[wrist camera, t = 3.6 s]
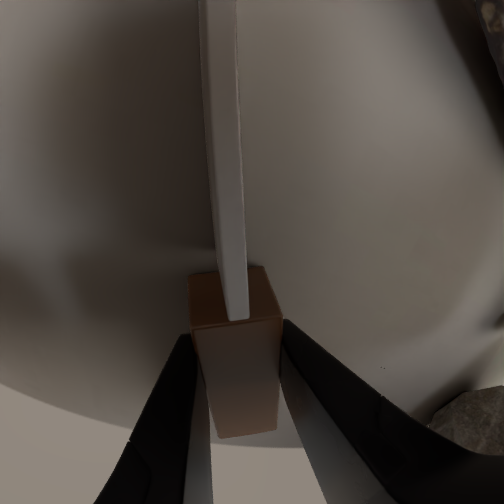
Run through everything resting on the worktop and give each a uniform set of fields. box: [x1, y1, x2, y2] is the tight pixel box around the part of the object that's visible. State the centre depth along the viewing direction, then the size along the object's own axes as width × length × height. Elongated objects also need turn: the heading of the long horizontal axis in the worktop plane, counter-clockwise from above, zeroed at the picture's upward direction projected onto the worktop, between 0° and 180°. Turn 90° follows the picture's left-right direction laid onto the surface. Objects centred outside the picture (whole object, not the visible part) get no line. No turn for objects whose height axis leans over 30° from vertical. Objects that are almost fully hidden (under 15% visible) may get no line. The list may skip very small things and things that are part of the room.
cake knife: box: [187, 0, 283, 439], centre depth 6 cm, size 14×2×2 cm, turn 2°
